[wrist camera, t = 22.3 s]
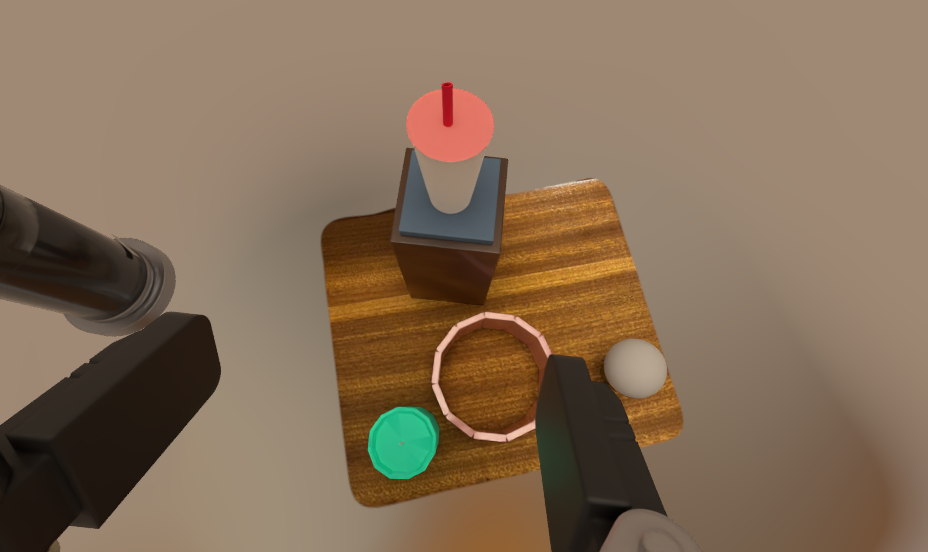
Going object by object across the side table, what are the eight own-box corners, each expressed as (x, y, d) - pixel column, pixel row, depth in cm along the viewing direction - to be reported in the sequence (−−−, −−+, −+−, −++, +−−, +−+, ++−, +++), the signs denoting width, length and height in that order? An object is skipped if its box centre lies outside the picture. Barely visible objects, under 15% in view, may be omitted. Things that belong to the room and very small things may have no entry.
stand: (410, 297, 50) (389, 241, 33) (420, 230, 53) (406, 147, 35) (483, 305, 50) (500, 254, 33) (489, 238, 53) (508, 158, 35)
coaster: (399, 235, 33) (398, 230, 32) (412, 154, 35) (412, 149, 34) (492, 245, 33) (493, 241, 32) (499, 164, 35) (500, 158, 34)
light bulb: (584, 345, 49) (616, 331, 39) (633, 350, 49) (677, 337, 39) (583, 396, 47) (617, 394, 37) (634, 401, 47) (681, 401, 37)
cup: (422, 163, 34) (407, 42, 23) (485, 170, 34) (502, 52, 23) (413, 221, 32) (393, 122, 21) (480, 228, 32) (496, 132, 21)
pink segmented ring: (428, 429, 45) (424, 433, 40) (441, 317, 49) (440, 306, 44) (541, 442, 45) (554, 447, 40) (546, 329, 49) (559, 319, 44)
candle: (377, 452, 45) (352, 469, 33) (397, 398, 46) (380, 396, 35) (429, 471, 44) (421, 494, 33) (447, 415, 46) (446, 419, 34)
